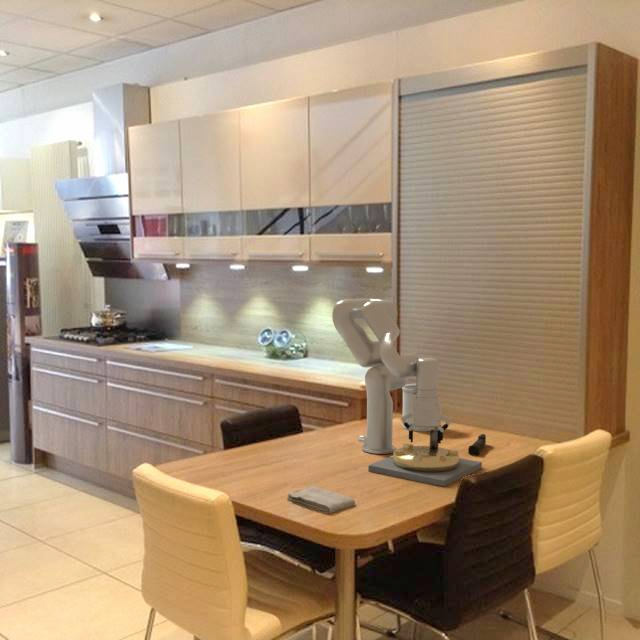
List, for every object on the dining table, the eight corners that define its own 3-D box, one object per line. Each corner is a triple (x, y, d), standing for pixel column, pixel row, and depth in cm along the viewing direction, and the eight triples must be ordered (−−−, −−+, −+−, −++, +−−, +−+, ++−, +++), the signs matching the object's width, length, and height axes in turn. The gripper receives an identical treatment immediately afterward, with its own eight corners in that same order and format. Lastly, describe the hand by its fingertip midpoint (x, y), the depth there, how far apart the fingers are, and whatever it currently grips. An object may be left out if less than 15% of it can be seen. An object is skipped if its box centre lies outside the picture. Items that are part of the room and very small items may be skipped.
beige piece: (448, 475, 246) (449, 446, 245) (383, 466, 255) (384, 438, 255) (466, 459, 266) (467, 432, 265) (405, 451, 275) (406, 425, 274)
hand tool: (478, 456, 279) (479, 444, 279) (467, 455, 281) (468, 442, 281) (491, 445, 296) (491, 433, 296) (480, 444, 298) (481, 432, 298)
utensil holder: (439, 432, 317) (440, 389, 316) (403, 431, 317) (404, 389, 315) (433, 424, 332) (434, 383, 330) (399, 423, 332) (400, 383, 330)
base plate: (368, 471, 258) (368, 464, 258) (410, 454, 280) (410, 448, 280) (443, 486, 241) (443, 479, 241) (481, 467, 264) (481, 461, 264)
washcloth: (311, 493, 235) (311, 483, 235) (357, 506, 223) (357, 496, 222) (284, 501, 226) (284, 491, 226) (329, 516, 214) (329, 505, 214)
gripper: (401, 394, 265) (400, 443, 266) (452, 396, 263) (451, 445, 265) (401, 390, 272) (400, 438, 274) (451, 392, 271) (449, 440, 272)
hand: (425, 442), depth 269 cm, fingers open, 9 cm apart
